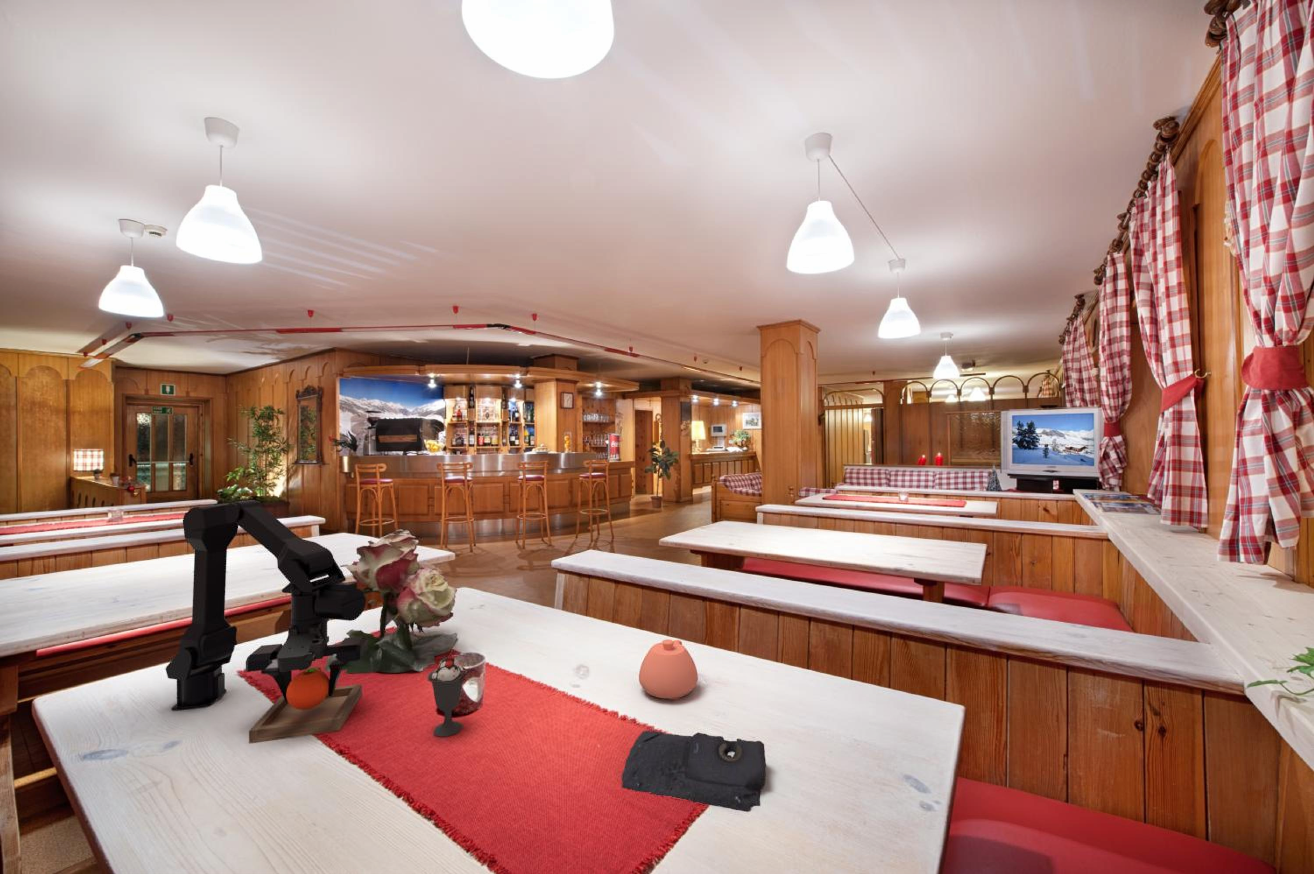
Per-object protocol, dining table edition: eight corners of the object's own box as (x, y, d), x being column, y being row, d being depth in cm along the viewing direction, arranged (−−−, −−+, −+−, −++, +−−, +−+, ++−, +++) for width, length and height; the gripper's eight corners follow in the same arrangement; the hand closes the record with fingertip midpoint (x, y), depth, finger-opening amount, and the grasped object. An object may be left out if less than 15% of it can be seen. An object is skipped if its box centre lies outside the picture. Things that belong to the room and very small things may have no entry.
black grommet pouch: (642, 735, 93) (642, 709, 93) (769, 753, 87) (768, 725, 87) (613, 792, 78) (613, 760, 78) (763, 818, 72) (763, 784, 72)
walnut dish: (249, 742, 91) (249, 730, 91) (283, 703, 104) (283, 693, 104) (339, 730, 94) (339, 718, 94) (361, 694, 108) (361, 684, 108)
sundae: (454, 741, 90) (453, 655, 91) (420, 737, 92) (419, 652, 92) (475, 721, 97) (474, 640, 97) (442, 717, 98) (442, 638, 98)
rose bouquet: (441, 674, 117) (440, 540, 117) (311, 674, 117) (311, 541, 117) (480, 632, 143) (480, 522, 143) (374, 632, 143) (374, 522, 143)
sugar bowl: (629, 698, 105) (628, 647, 105) (655, 669, 118) (655, 624, 118) (686, 709, 101) (686, 656, 101) (707, 678, 114) (707, 631, 114)
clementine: (302, 696, 103) (302, 660, 103) (339, 694, 104) (339, 658, 104) (277, 718, 95) (277, 679, 95) (318, 715, 96) (318, 677, 96)
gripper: (229, 636, 89) (229, 727, 89) (351, 625, 94) (351, 712, 94) (260, 615, 100) (260, 696, 100) (368, 606, 105) (368, 684, 105)
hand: (309, 697), depth 99 cm, fingers closed on clementine, 7 cm apart
